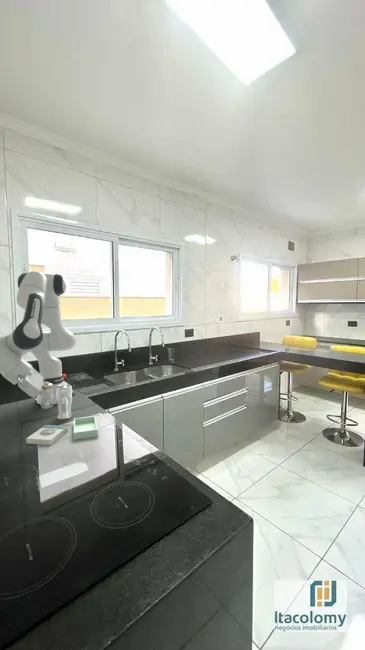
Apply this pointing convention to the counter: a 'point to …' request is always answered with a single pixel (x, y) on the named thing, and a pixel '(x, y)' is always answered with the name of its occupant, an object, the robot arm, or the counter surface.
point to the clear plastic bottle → (64, 401)
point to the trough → (85, 427)
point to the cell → (49, 402)
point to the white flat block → (46, 435)
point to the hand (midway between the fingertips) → (48, 394)
